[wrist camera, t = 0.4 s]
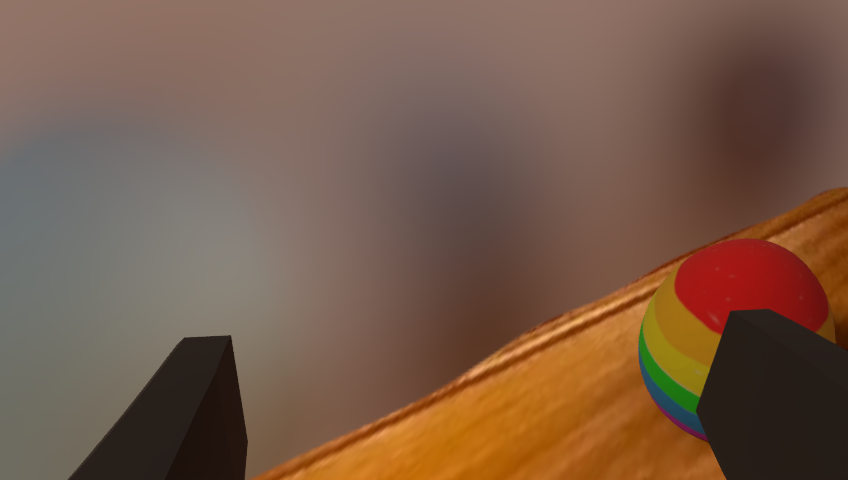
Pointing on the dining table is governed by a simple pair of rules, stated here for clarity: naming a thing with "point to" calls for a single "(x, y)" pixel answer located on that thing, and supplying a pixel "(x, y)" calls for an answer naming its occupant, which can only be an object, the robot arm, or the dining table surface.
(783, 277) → the decorative egg
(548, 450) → the dining table surface
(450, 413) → the dining table surface
